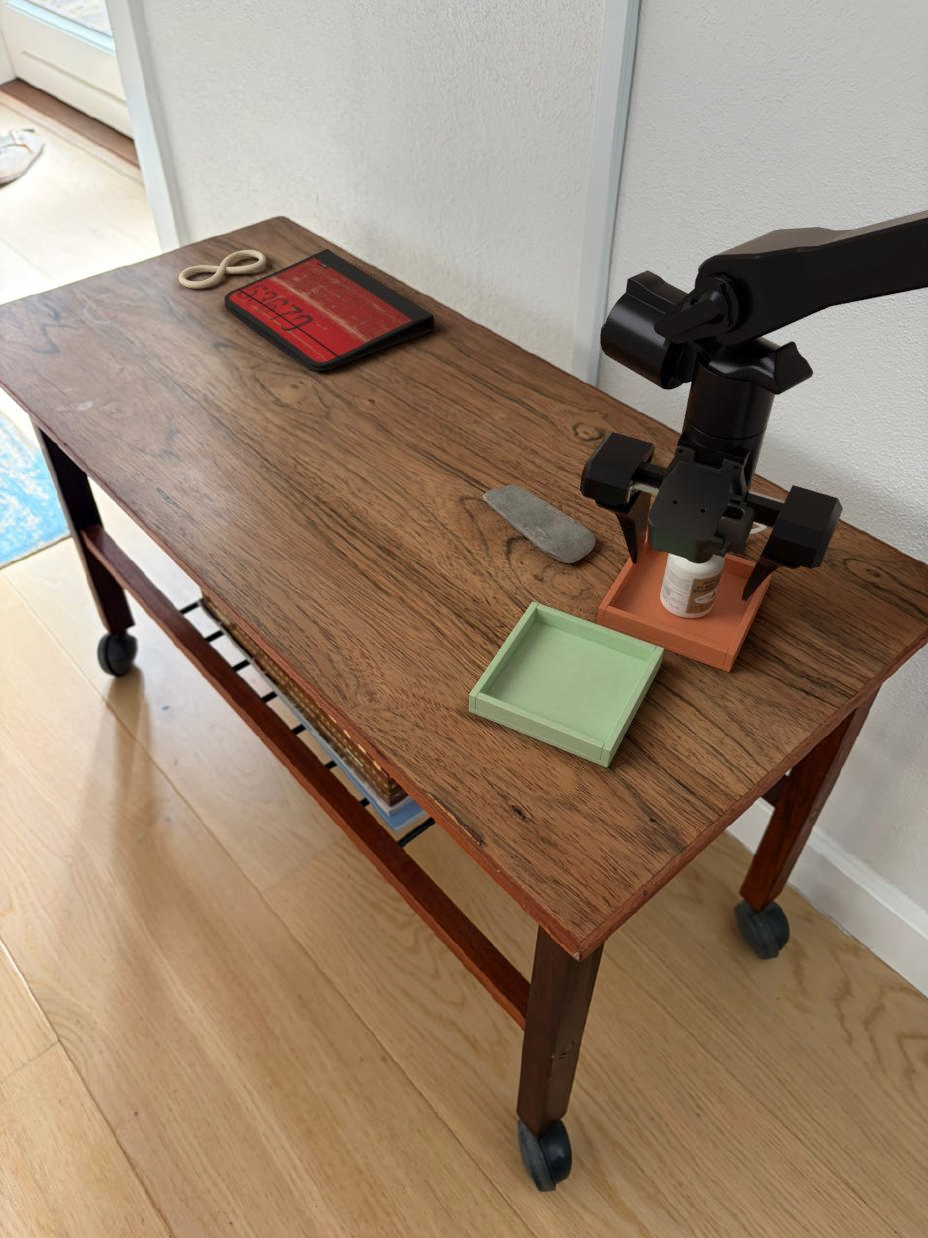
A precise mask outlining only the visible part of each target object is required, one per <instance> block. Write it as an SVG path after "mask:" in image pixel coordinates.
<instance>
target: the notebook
mask: <svg viewBox="0 0 928 1238" xmlns="http://www.w3.org/2000/svg"><path fill="white" fill-rule="evenodd" d="M223 300H224V307H225V309H226V310H227V311H228V312H229V313H230V314H232V315H233V316H234V317H236V319H238V320H239V321H241V322H242V323H243V324H244V325H246V327H248V328H249V329H251V330H252V331H254V332H255V333H256V334H257V335H258V336H260V337H261V338H263V339H264V340H265V341H267V342H268V343H270V344H271V345H273V346H274V347H275V348H276V349H278V350H280V351H281V352H282V353H284V354H285V355H287V356H289V357H290V358H291V359H293V360H294V361H295V362H298V363H299V364H300V365H302V366H304V367H305V368H306V369H309V370H310V371H315V372H316V371H317V372H320V371H328V370H331V369H335V368H337V367H342V366H343V365H346V364H347V363H349V362H352V361H354V360H357V359H359V358H362V357H365V356H367V355H370V354H373V353H376V352H378V351H380V350H383V349H386V348H388V347H391V346H394V345H397V344H399V343H403V342H405V341H408V340H411V339H414V338H417V337H418V338H419V337H421V336H423V335H427V334H429V333H431V332H434V330H435V315H434V314H432V313H431V312H429V311H428V310H426V309H425V308H423V307H422V306H420V305H418V304H416V303H415V302H413V301H411V300H410V299H408V298H406V297H405V296H403V295H402V294H400V293H398V292H397V291H395V290H394V289H392V288H391V287H390V286H389V287H388V286H387V285H386V284H385V283H382V282H381V281H379V280H377V279H376V278H374V277H373V276H371V275H369V274H368V273H366V272H365V271H363V270H362V269H360V268H358V267H357V266H356V265H353V264H352V263H351V262H349V261H347V259H346V260H345V259H344V258H342V257H341V256H340V255H338V254H336V253H335V252H333V251H331V249H328V248H325V249H323V250H322V251H320V252H317V253H314V254H312V255H310V256H308V257H306V258H304V259H301V260H299V261H297V262H295V263H293V264H290V265H288V266H286V267H284V268H282V269H280V270H276V271H275V272H272V273H270V274H267V275H265V276H263V277H261V278H259V279H256V280H253V281H251V282H249V283H247V284H245V285H243V286H240V287H236V289H233V290H231V291H229V292H228V293H227V294H226V295H225V296H224V299H223Z"/></svg>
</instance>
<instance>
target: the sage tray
mask: <svg viewBox="0 0 928 1238" xmlns="http://www.w3.org/2000/svg"><path fill="white" fill-rule="evenodd" d="M664 652H665V649H664V648H661V647H659V646H656V645H653V644H650V643H647V642H644V641H642V640H639V639H636V638H633V637H631V636H628V635H625V634H622V633H620V632H617V631H614V630H611V629H608V628H606V627H603V626H600V625H597V623H594V622H592V621H589V620H586V619H583V618H581V617H578V616H575V615H572V614H570V613H567V612H564V611H562V610H558V609H556V608H553V607H550V606H548V605H545V604H541V603H539V602H537V601H533V600H532V601H531V603H530V604H529V606H528V608H527V609H526V610H525V612H524V613H523V615H522V616H521V618H520V619H519V620H518V621H517V623H516V624H515V626H514V628H513V629H512V630H511V632H510V633H509V634H508V637H507V638H506V640H504V642H503V644H502V646H500V649H499V650H498V651H497V652H496V654H495V656H494V657H493V659H492V660H491V661H490V663H489V664H488V666H487V668H486V669H485V671H484V672H483V673H482V675H481V676H480V678H479V679H478V681H477V682H476V684H475V685H474V686H473V688H472V690H471V691H470V693H468V712H469V713H472V714H474V715H477V716H479V717H481V718H483V719H485V720H489V721H491V722H494V723H496V724H499V725H501V726H504V727H506V728H508V729H511V730H514V731H516V732H518V733H521V734H523V735H525V736H527V737H531V738H532V739H535V740H537V741H540V742H542V743H545V744H547V745H550V746H552V747H555V748H557V749H560V750H562V751H565V752H567V753H570V754H572V755H575V756H576V757H579V758H582V759H585V760H587V761H589V762H592V763H594V764H597V765H599V766H602V767H604V768H606V769H607V768H609V767H610V765H611V762H612V760H613V758H614V757H615V755H616V752H617V750H618V749H619V747H620V745H621V743H622V741H623V739H624V738H625V735H626V734H627V731H628V730H629V727H630V726H631V724H632V721H633V720H634V718H635V716H636V714H637V712H638V710H639V708H640V706H641V705H642V702H643V700H644V698H645V697H646V695H647V693H648V691H649V689H650V687H651V685H652V684H653V681H654V679H655V677H656V676H657V674H658V672H659V670H660V668H661V665H662V663H663V657H664Z"/></svg>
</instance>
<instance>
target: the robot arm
mask: <svg viewBox="0 0 928 1238" xmlns="http://www.w3.org/2000/svg"><path fill="white" fill-rule="evenodd" d="M693 287H694V288H693V289H692V290H691V291H689V293H688V292H686V291H684V290H682V289H681V288H678V287H676V286H674V285H672V284H671V283H669V282H667V281H665V279H664V278H662V277H661V276H660V275H658V274H657V273H654V272H653V271H650V270H648V269H647V270H645V271H642V272H640V273H638V274H635V275H633V276H631V277H629V278H627V280H626V287H625V292H624V293H623V294H622V295H621V296H620V297H619V298H618V299H617V301H616V302H615V303H614V305H613V306H612V307H611V309H610V311H609V313H608V315H607V317H606V320H605V323H604V324H602V326H601V328H600V334H599V336H600V337H599V344H600V348H601V351H602V352H603V353H604V355H606V356H607V357H608V358H610V359H611V360H613V361H614V362H616V363H618V364H620V365H622V366H623V367H625V368H627V369H629V370H630V371H632V372H634V373H635V374H637V375H639V376H640V377H642V378H644V379H646V380H647V381H649V382H650V383H652V384H654V385H656V386H657V387H659V388H660V389H663V390H666V391H667V390H668V391H670V390H675V389H677V388H679V387H681V386H683V384H689V383H690V387H689V392H688V397H687V402H686V407H685V412H684V418H683V423H682V428H681V434H680V436H679V438H678V440H677V445H676V448H675V451H674V456H673V458H672V459H671V461H670V462H669V464H668V465H667V467H665V466H661V465H659V464H654V463H651V462H652V461H653V460H654V458H655V452H656V446H655V445H654V443H652V442H649V441H646V440H641V439H638V438H635V437H631V436H629V435H625V434H621V433H618V432H615V431H612V432H610V433H609V434H607V435H606V436H604V437H603V438H602V440H601V441H600V442H599V444H598V445H597V446H596V448H595V449H594V451H593V452H592V453H591V454H590V456H589V457H588V459H587V460H586V461H585V463H584V466H583V469H582V471H581V474H580V484H579V492H580V493H581V495H582V496H583V497H584V498H588V499H591V500H593V501H594V502H595V505H596V506H597V507H598V508H601V509H604V510H606V511H608V512H610V513H612V514H614V515H615V517H616V520H617V521H618V523H619V526H620V528H621V531H622V534H623V538H624V541H625V544H626V547H627V550H628V554H629V557H631V561H632V563H634V564H637V563H638V562H639V560H640V558H641V556H642V552H643V548H644V544H645V540H646V533H647V541H648V544H649V546H650V547H651V548H652V549H654V550H657V551H659V552H667V553H670V554H673V555H676V556H679V557H682V558H685V559H687V560H688V561H690V562H693V563H697V564H701V563H706V562H708V561H709V560H710V559H711V558H712V556H713V555H717V556H720V557H723V558H724V557H725V555H726V553H727V554H729V553H733V554H736V555H741V554H742V552H743V550H744V548H745V546H746V543H747V541H748V538H749V536H750V535H751V534H750V532H751V529H753V526H754V524H753V523H754V522H756V523H759V524H762V525H765V526H766V527H769V528H772V529H771V531H770V534H769V535H768V538H767V540H766V542H765V544H764V546H763V548H762V551H760V552H761V553H760V555H759V557H758V558H757V561H756V562H755V563H756V564H755V566H754V568H753V571H752V573H751V575H750V577H749V579H748V581H747V583H746V585H745V587H744V590H743V594H742V598H741V600H744V601H747V600H748V598H749V597H750V596H751V595H752V594H753V593H754V591H755V590H756V589H757V588H758V587H759V586H760V585H761V583H762V582H763V581H764V580H765V579H766V578H767V577H768V576H769V575H770V574H771V573H772V572H773V573H774V572H775V571H776V570H778V569H779V568H787V569H790V570H798V569H800V567H803V568H807V569H809V570H812V569H816V568H820V567H821V566H822V564H823V561H824V559H825V556H826V554H827V551H828V549H829V547H830V545H831V542H832V539H833V536H834V534H835V532H836V530H837V526H838V524H839V521H840V518H841V515H842V513H843V510H844V508H843V505H842V504H841V501H840V499H839V498H838V497H836V496H832V495H829V494H826V493H823V492H819V491H815V490H812V489H808V488H805V487H802V486H798V485H795V484H791V485H792V486H791V487H790V490H789V491H788V493H787V496H786V497H785V500H783V499H780V498H777V497H773V496H770V495H766V494H763V493H760V492H756V491H753V490H751V489H752V485H753V483H754V482H753V481H754V478H755V474H756V470H757V466H758V464H759V459H760V455H761V450H762V447H763V444H764V439H765V435H766V433H767V428H768V424H769V420H770V417H771V413H772V410H773V405H774V402H775V397H776V396H779V395H781V394H783V393H785V392H787V391H789V390H791V389H792V388H794V387H797V386H798V385H800V384H802V383H804V382H805V381H807V380H809V379H811V378H812V377H813V376H814V371H813V368H812V367H811V365H810V363H809V361H808V360H807V359H806V358H805V357H804V356H803V355H802V354H801V352H800V351H799V349H798V346H797V343H796V342H795V341H793V340H792V341H788V342H787V343H784V344H783V345H780V344H778V343H776V342H774V341H772V340H769V339H768V338H766V337H764V336H766V335H769V334H771V333H774V332H775V331H778V330H780V329H784V328H786V327H787V326H789V325H792V324H794V323H796V322H799V321H800V320H803V319H805V318H807V317H809V316H812V315H814V314H816V313H819V312H821V311H823V310H826V309H829V308H830V307H831V308H832V307H836V306H841V305H846V304H851V303H856V302H861V301H866V300H871V299H876V298H883V297H886V296H892V295H896V294H902V293H907V292H911V291H917V290H923V289H927V288H928V209H925V210H922V211H917V212H914V213H911V214H907V215H903V216H899V217H896V218H895V217H894V218H892V219H887V220H884V221H880V222H877V223H872V224H869V225H866V226H860V227H858V228H854V229H853V228H852V229H830V228H827V227H826V228H825V227H821V226H813V227H811V226H810V227H795V228H780V229H774V230H772V231H769V232H767V233H765V234H762V235H759V236H757V237H755V238H752V239H750V240H748V241H745V242H743V243H740V244H738V245H736V246H733V247H730V248H729V249H726V250H724V251H721V252H719V253H717V254H715V255H712V256H710V257H708V258H706V259H705V260H704V261H703V262H701V264H700V265H698V267H697V274H696V277H695V280H694V286H693ZM652 495H654V496H655V498H654V500H653V502H652V500H651V499H652ZM651 502H652V504H651ZM647 528H648V531H647ZM740 553H741V554H740Z"/></svg>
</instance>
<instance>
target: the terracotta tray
mask: <svg viewBox="0 0 928 1238" xmlns="http://www.w3.org/2000/svg"><path fill="white" fill-rule="evenodd" d="M647 531H648V527H647ZM668 554H669V553H667V552H659V551H657V550H654V549H652V548H651V547H650V546H649V544H648V541H647V533H646V540H645V544H644V548H643V552H642V556H641V558H640V560H639V562H638V563H637V564H634V563H632V561H631V557H630V556H629V557H628V559H627V561H626V562H625V564H624V565H623V567H622V568H621V571H620V572H619V574H617V575H618V576H617V577H616V578H615V580H614V582H613V584H612V585H611V587H610V588H609V590H608V591H607V594H606V595H605V597H604V598H603V600H602V602H601V603H600V605H599V607H598V612H597V620H596V624H597V625H600V626H603V627H606V628H608V629H611V630H614V631H617V632H620V633H622V634H625V635H628V636H631V637H633V638H636V639H639V640H642V641H644V642H647V643H650V644H653V645H656V646H659V647H661V648H664V650H666V651H668V652H671V653H674V654H677V655H679V656H682V657H685V658H688V659H691V660H693V661H696V662H699V663H702V664H704V665H707V666H710V667H713V668H717V669H719V670H720V671H721V670H722V671H724V672H726V673H731V670H732V668H733V666H734V665H735V662H736V660H737V657H738V655H739V653H740V650H741V649H742V647H743V644H744V642H745V640H746V638H747V635H748V633H749V630H750V628H751V626H752V624H753V622H754V620H755V617H756V615H757V613H758V611H759V609H760V606H761V604H762V602H763V599H764V597H765V595H766V593H767V591H768V589H769V586H770V583H771V580H772V577H773V573H774V572H772V573H771V574H770V575H769V576H768V577H767V578H766V579H765V580H764V581H763V582H762V583H761V585H760V586H759V587H758V588H757V589H756V590H755V591H754V593H753V594H752V595H751V596H750V597H749V598H748V600H747V601H744V600H741V598H742V594H743V590H744V587H745V585H746V583H747V581H748V579H749V577H750V575H751V573H752V571H753V568H754V566H755V564H756V562H755V561H751V560H748V559H746V558H742V557H739V556H736V555H733V554H730V553H726V555H725V561H724V566H723V570H722V574H721V577H720V581H719V585H718V589H717V593H716V597H715V600H714V604H713V607H712V609H711V610H710V611H709V612H708V613H707V614H706V615H704V616H702V617H698V618H683V617H679V616H676V615H674V614H672V613H671V612H669V611H668V610H667V609H666V608H665V607H664V606H663V604H662V602H661V599H660V593H661V588H662V583H663V579H664V574H665V569H666V564H667V559H668Z"/></svg>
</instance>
